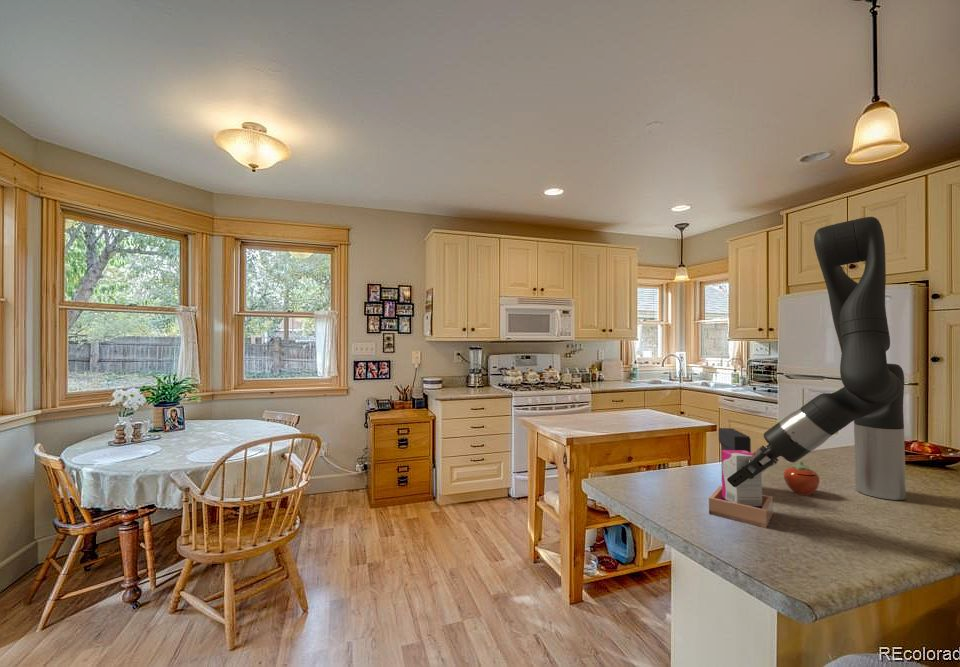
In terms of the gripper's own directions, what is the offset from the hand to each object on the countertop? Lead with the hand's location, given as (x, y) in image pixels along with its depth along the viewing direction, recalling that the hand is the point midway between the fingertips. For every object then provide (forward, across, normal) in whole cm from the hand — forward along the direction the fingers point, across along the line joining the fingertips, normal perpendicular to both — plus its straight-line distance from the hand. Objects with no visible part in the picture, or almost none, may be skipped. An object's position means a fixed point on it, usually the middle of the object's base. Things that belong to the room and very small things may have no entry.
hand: (734, 478), depth 93 cm
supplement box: (+3, 0, +5) cm, 6 cm away
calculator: (+7, -17, +3) cm, 19 cm away
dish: (+4, 0, +6) cm, 8 cm away
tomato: (-2, -26, +13) cm, 29 cm away
